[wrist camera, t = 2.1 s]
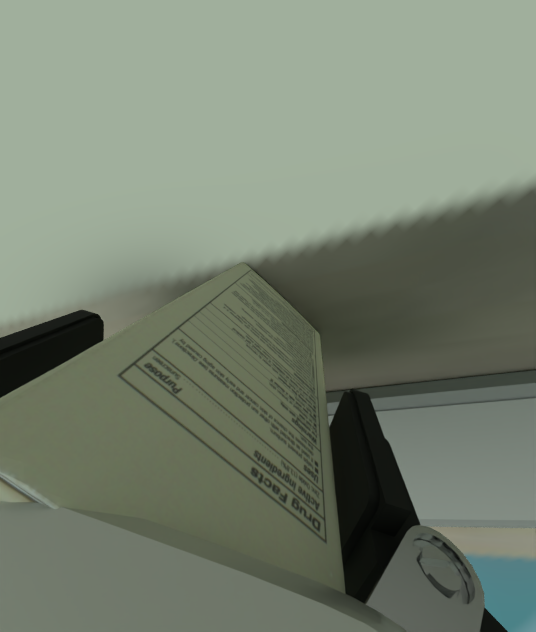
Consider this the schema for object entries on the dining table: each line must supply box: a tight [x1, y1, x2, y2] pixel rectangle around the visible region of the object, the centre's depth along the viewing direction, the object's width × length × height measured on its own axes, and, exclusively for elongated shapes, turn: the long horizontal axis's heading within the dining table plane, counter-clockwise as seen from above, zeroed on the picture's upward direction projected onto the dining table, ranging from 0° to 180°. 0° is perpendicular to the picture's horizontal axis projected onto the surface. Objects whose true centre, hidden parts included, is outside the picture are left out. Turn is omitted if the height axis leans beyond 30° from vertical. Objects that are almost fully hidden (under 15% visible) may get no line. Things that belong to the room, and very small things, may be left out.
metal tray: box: [326, 370, 536, 528], centre depth 15 cm, size 14×10×1 cm
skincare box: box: [0, 262, 346, 594], centre depth 9 cm, size 6×4×12 cm
